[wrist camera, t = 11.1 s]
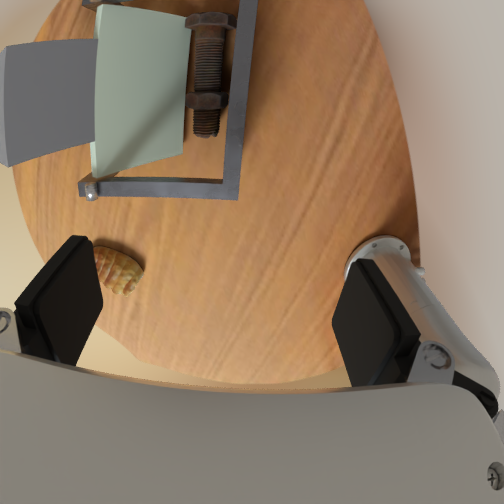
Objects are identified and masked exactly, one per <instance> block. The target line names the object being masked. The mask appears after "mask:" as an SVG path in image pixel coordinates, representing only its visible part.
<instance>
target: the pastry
mask: <svg viewBox="0 0 504 504" xmlns="http://www.w3.org/2000/svg"><path fill="white" fill-rule="evenodd" d="M93 250H94V256H95V262H96V268H97V273H98V278H99V281H100V282H103V284H104V285H105V286H106V288H108V289H110V288H111V289H112V291H113V292H114V293H115V294H122V295H124V296H125V297H128V296H129V295H130V294H131V293H132V291H133V290H134V288H135V286H136V285H137V283H138V282H139V280H140V279H141V278H142V276H143V274H144V272H143V271H142V269H141V267H140V266H139V265H138V263H137V262H136V261H135V260H133V259H132V258H130V256H127V255H125V254H123V253H121V252H119V251H115V250H113V249H110V248H107V247H101V246H97V247H94V248H93Z"/></svg>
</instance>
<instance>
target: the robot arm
mask: <svg viewBox="0 0 504 504" xmlns="http://www.w3.org/2000/svg"><path fill="white" fill-rule="evenodd" d="M424 273H425V269H424V268H423V267H417V268H416V267H415V266H414V265H413V264H412V263H411V256H410V252H409V249H408V247H407V246H406V244H405V243H404V242H403V241H402V240H400V239H399V238H397V237H394V236H389V235H383V236H378V237H374V238H372V239H370V240H368V241H366V242H364V243H363V244H361V245H360V246H359V247H358V248H357V249H356V250H355V251H354V252H353V253H352V255H351V256H350V258H349V259H348V261H347V263H346V266H345V270H344V281H345V283H344V286H343V289H342V292H341V295H340V298H339V301H338V304H337V307H336V309H335V312H334V315H333V318H332V327H333V330H334V333H335V336H336V339H337V342H338V345H339V348H340V351H341V354H342V357H343V360H344V363H345V366H346V370H347V373H348V376H349V379H350V382H351V385H352V387H344V388H329V389H328V388H327V389H299V390H298V389H295V390H274V389H273V390H272V389H237V388H219V387H206V386H194V385H184V384H175V383H167V382H159V381H151V380H145V379H138V378H132V377H126V376H120V375H114V374H109V373H104V372H98V371H94V370H89V369H85V368H80V367H76V364H77V361H78V359H79V357H80V354H81V352H82V350H83V348H84V346H85V343H86V341H87V339H88V337H89V335H90V333H91V331H92V329H93V326H94V324H95V322H96V320H97V318H98V316H99V314H100V312H101V310H102V308H103V297H102V293H101V288H100V283H99V278H98V273H97V268H96V262H95V256H94V250H93V244H92V242H91V241H90V240H88V238H87V237H86V236H78V235H72V236H71V237H70V238H69V239H68V240H67V241H66V242H65V243H64V244H63V245H62V246H61V247H60V249H59V250H58V251H57V252H56V253H55V254H54V255H53V256H52V257H51V259H50V260H49V261H48V262H47V263H46V264H45V266H44V267H43V268H42V269H41V270H40V272H39V273H38V274H37V275H36V276H35V278H34V279H33V280H32V281H31V282H30V283H29V285H28V286H27V287H26V289H25V290H24V291H23V292H22V294H21V295H20V296H19V297H18V299H17V300H16V301H15V303H14V304H15V306H16V310H15V311H14V312H12V310H10V309H8V308H0V504H504V411H503V410H500V411H499V412H498V402H497V399H498V396H499V392H500V382H499V378H498V376H497V374H496V372H495V370H494V368H493V367H492V366H491V365H490V363H489V362H488V361H487V360H486V359H485V357H484V356H483V355H482V354H481V353H480V352H479V351H478V350H477V349H476V348H475V347H474V346H473V344H472V343H471V342H470V341H469V340H468V339H467V338H466V336H465V335H464V334H463V333H462V331H461V330H460V329H459V327H458V326H457V325H456V324H455V322H454V321H453V319H452V318H451V317H450V315H449V314H448V313H447V311H446V310H445V309H444V307H443V306H442V305H441V303H440V302H439V300H438V299H437V298H436V296H435V295H434V294H433V293H432V291H431V290H430V289H429V287H428V286H427V285H426V283H425V279H424V278H421V277H420V276H419V275H424Z"/></svg>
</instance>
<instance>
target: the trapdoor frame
mask: <svg viewBox="0 0 504 504" xmlns="http://www.w3.org/2000/svg"><path fill="white" fill-rule="evenodd" d="M125 1H132V0H83V1H82V6H84V7H86V8H88V9H91V10H93V11H95V12H97V7H98V6H100V5H102V4H108V5H118V6H124V5H122V4H121V3H119V2H125ZM257 6H258V0H240V4H239V12H238V20H237V29H236V38H235V47H234V56H233V66H232V76H231V86H230V97H229V108H228V120H227V132H226V145H225V158H224V172H223V179H207V178H179V177H114V176H115V175H116V174H117V173H118V172H116V173H112V174H109V175H106V176H103V177H100V178H95V177H92V172H91V173H90V174H88V175H87V176H86V177H84V178H83V179H82V180H80V181H79V182H78V189H79V197H86V200H87V201H94V200H96V199H98V196H122V197H174V198H201V199H222V200H238V194H239V182H240V171H241V160H242V149H243V138H244V127H245V117H246V107H247V97H248V87H249V77H250V68H251V59H252V50H253V41H254V32H255V23H256V14H257Z"/></svg>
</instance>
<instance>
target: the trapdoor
mask: <svg viewBox="0 0 504 504" xmlns="http://www.w3.org/2000/svg"><path fill="white" fill-rule="evenodd" d="M186 18H187V17H182V16H178V15H173V14H169V13H164V12H158V11H153V10H147V9H141V8H134V7H126V6H118V5H108V4H102V5H100V6H98V7H97V14H96V21H95V28H94V37H93V39H69V40H53V41H42V42H33V43H26V44H18V45H12V46H6V47H5V48H4V50H3V51H2V52H1V53H0V163H1V164H3V165H5V166H7V167H11V166H13V165H16V164H19V163H22V162H25V161H28V160H31V159H34V158H37V157H40V156H43V155H46V154H50V153H53V152H56V151H60V150H63V149H67V148H71V147H74V146H78V145H82V144H86V143H90V148H91V165H92V177H95V178H100V177H103V176H106V175H109V174H112V173H116V172H119V171H122V170H125V169H129V168H132V167H136V166H139V165H143V164H146V163H150V162H153V161H157V160H161V159H165V158H169V157H173V156H177V155H181V154H183V129H184V110H185V94H186V80H187V68H188V57H189V47H190V37H191V29H188V28H185V19H186Z"/></svg>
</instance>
